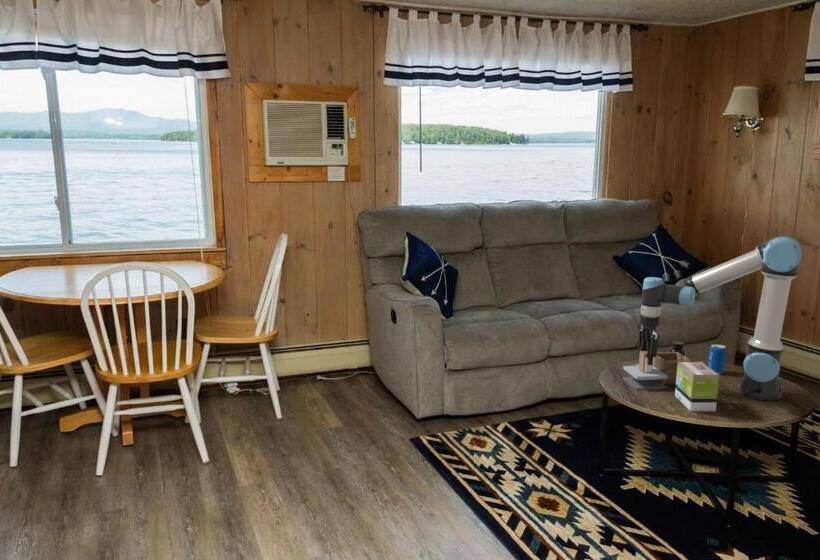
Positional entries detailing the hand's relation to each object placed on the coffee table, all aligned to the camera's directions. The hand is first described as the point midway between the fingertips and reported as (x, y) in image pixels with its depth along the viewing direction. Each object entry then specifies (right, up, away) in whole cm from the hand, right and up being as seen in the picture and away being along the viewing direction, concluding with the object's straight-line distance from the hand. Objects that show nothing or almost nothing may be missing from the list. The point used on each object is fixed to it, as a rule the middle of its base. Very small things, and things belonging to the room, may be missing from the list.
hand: (645, 369), depth 267 cm
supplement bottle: (+21, -3, +20) cm, 29 cm away
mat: (0, -6, +1) cm, 6 cm away
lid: (0, -2, 0) cm, 2 cm away
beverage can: (+37, -4, +16) cm, 40 cm away
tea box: (+11, -10, -20) cm, 25 cm away
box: (+12, -5, +6) cm, 15 cm away
